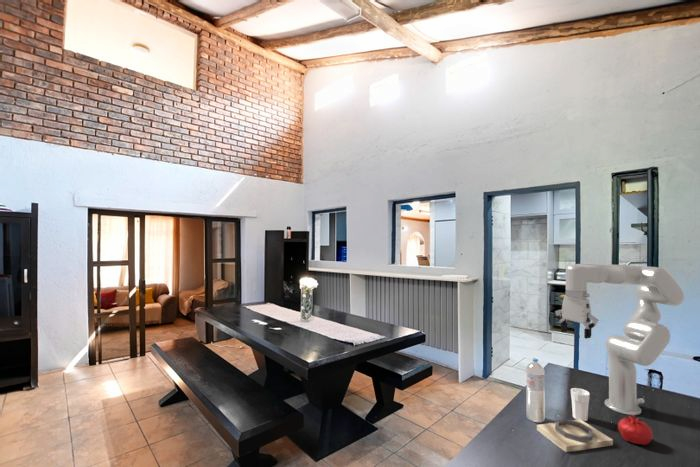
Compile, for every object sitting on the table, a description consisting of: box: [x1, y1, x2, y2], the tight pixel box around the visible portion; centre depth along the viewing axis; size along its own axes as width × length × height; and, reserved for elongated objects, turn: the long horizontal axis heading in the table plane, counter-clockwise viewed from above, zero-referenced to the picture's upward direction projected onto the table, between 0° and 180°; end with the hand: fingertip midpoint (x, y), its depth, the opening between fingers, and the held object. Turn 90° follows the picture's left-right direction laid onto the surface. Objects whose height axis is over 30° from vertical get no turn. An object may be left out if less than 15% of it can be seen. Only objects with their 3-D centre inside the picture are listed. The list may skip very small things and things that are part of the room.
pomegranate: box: [617, 415, 654, 446], centre depth 128 cm, size 10×10×9 cm
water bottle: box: [525, 358, 546, 424], centre depth 142 cm, size 7×7×25 cm
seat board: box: [536, 418, 614, 453], centre depth 129 cm, size 20×14×4 cm
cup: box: [570, 387, 590, 422], centre depth 143 cm, size 7×7×11 cm
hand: (575, 334), depth 145 cm, fingers open, 9 cm apart
